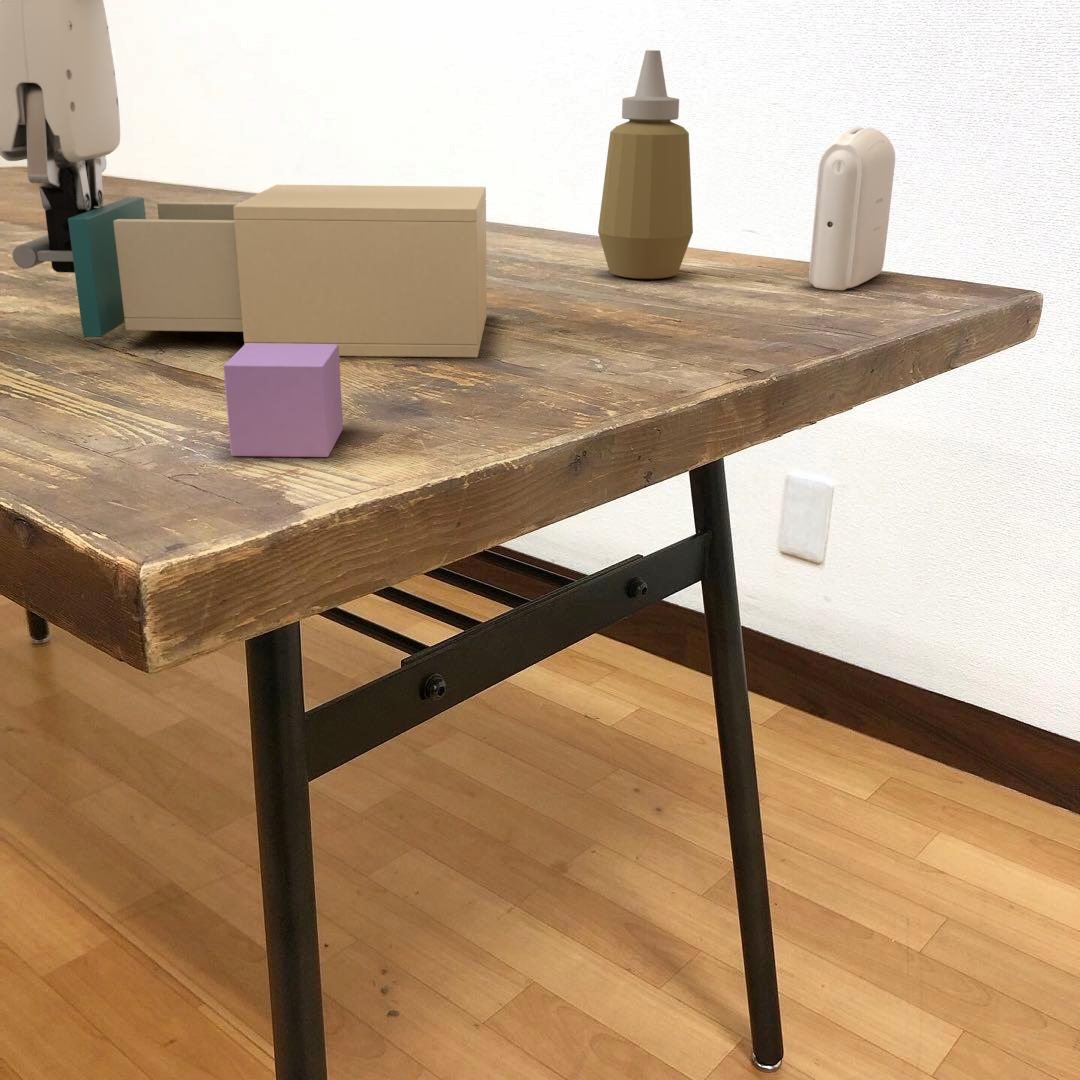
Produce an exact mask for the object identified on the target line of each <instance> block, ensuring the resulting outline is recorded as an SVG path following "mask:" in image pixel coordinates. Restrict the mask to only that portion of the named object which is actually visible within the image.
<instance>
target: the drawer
mask: <svg viewBox="0 0 1080 1080" xmlns="http://www.w3.org/2000/svg"><path fill="white" fill-rule="evenodd" d="M239 203H240V202H211V201H210V202H208V201H207V202H206V201H203V202H202V201H201V202H199V201H197V202H195V201H160V202H157V205H156V206H157V214H158V218H157V219H155V218H154V219H153V218H152V219H151V218H150V219H149V218H147V215H146V207H145V206H146V205H145V198H144V197H137V196H136V197H132V196H131V197H125V198H122V199H119V200H116V201H114V202H111V203H108V204H105V205H102V207H95V208H96V209H93V210H91V211H88V212H85V213H82V214H79V215H76V216H74V217H71V218H68V223H69V231H70V239H71V246H72V251H50V247H49V239H48V234H46V235H43V236H40V237H38V238H35V239H32V240H30V241H27V242H24V243H21V244H19V245H16V246H15V247H14V248H13V251H12V255H11V256H12V260H13V263H15V265H16V266H18V267H19V268H20V269H25V270H27V269H31V268H34V267H36V266H38V265H41V264H43V263H46V262H51V261H61V262H74V270H75V273H74V276H75V284H76V292H77V299H78V308H79V316H80V323H81V324H80V325H81V330H82V331H81V332H82V337H83V338H102V337H104V336H106V335H107V334H109V333H111V331H113V330H115V329H116V328H118V327H119V326H121V325H122V324H124V327H125V331H131V332H132V331H133V332H134V331H141V332H142V331H143V332H144V331H145V332H151V331H152V332H224V333H225V332H227V333H228V332H231V333H232V332H234V333H235V332H236V333H237V332H239V333H243V323H242V310H241V298H240V285H239V273H238V260H237V248H236V235H235V222H234V220H235V219H234V210H233V206H235V205H237V204H239Z"/></svg>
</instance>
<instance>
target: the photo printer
mask: <svg viewBox="0 0 1080 1080" xmlns="http://www.w3.org/2000/svg"><path fill="white" fill-rule="evenodd" d="M895 167H896V152H895V147H894V145H893V142H892V141H891V140H890V139H889V137H888V136H886V135H885V134H884V133H883V132H882V131H880V130H878V129H876V128H875V127H866V128H864V127H861V126H855V127H850V128H848V129H846V130H844V131H842V132H841V133H840V134H838V135H836V137H834V138H833V139H832V140H831V142H829V143H828V145H827V146H826V148H825V149H824V151H823V153H822V155H821V157H820V159H819V164H818V170H817V171H818V173H817V181H816V183H817V184H816V194H815V206H814V216H813V217H814V218H813V227H812V237H811V238H812V239H811V247H810V260H809V269H808V282H809V284H810V285H813V288H816V289H819V290H820V289H821V290H827V291H828V290H829V291H846V290H847V289H851V288H855V287H857V286H859V285H861V284H864V283H865V282H867V281H869V280H871V279H873V278H875V277H876V276H878V275H880V274H881V273H882V271H883V268H884V262H885V255H886V246H887V239H888V229H889V223H890V222H889V220H890V213H891V203H892V195H893V194H892V193H893V186H894V185H893V184H894V176H895Z"/></svg>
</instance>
